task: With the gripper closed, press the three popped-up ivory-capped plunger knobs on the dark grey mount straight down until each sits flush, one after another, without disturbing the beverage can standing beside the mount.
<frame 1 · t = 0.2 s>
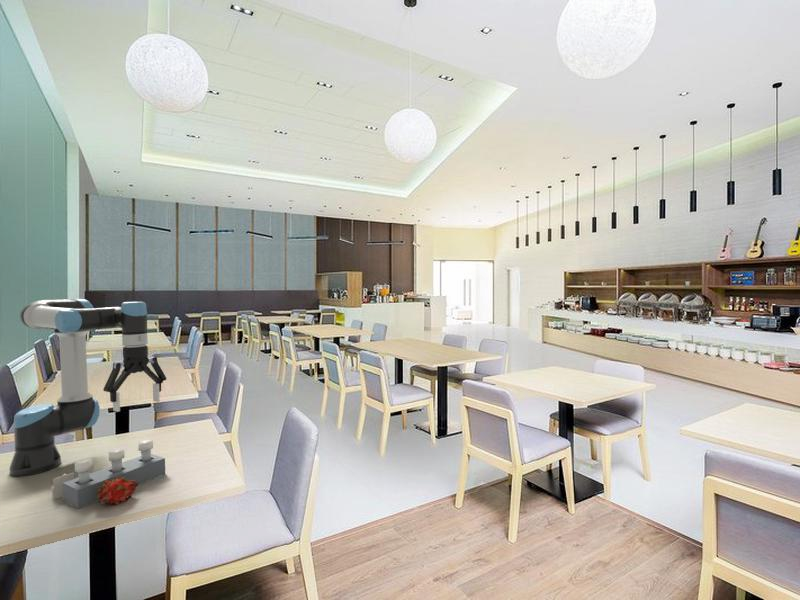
hand: (137, 406, 150), 27 cm above the table, fingers open, 13 cm apart
knob far: (146, 452, 157), point 8 cm above the table, slide at 0.0 cm
knob mid: (116, 462, 148), point 8 cm above the table, slide at 0.0 cm
mount: (117, 486, 149), on the table
knob near: (83, 473, 140), point 8 cm above the table, slide at 0.0 cm
dragon fruit: (118, 501, 139), on the table
architectural model: (63, 497, 143), on the table
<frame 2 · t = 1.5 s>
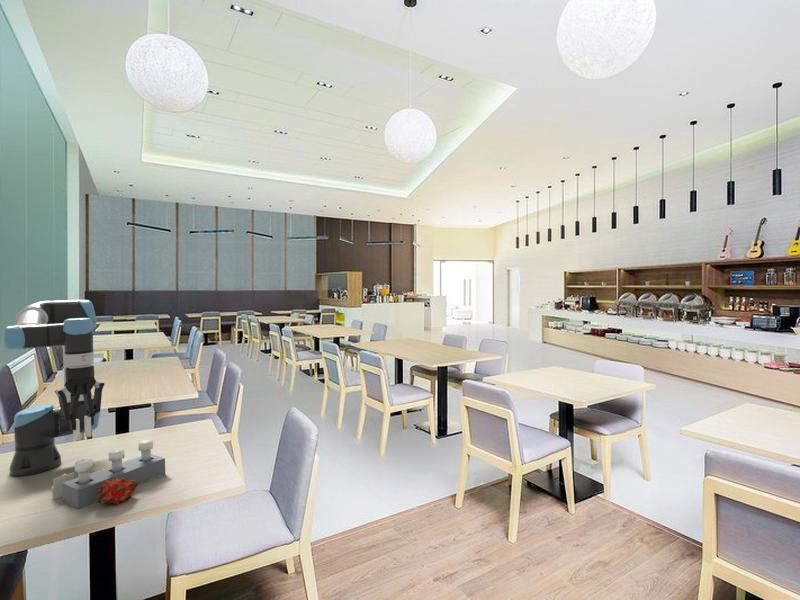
hand: (82, 437, 139), 21 cm above the table, fingers open, 3 cm apart
nothing on the table moved.
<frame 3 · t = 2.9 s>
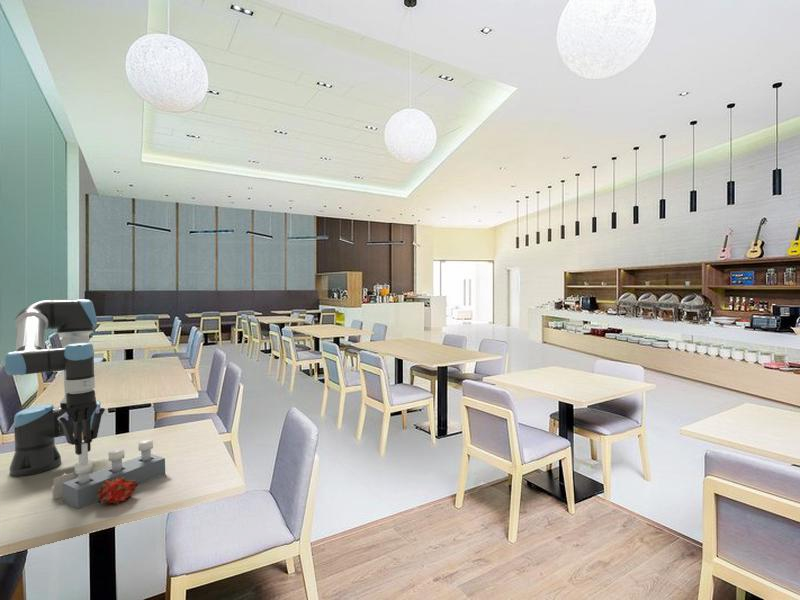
hand: (83, 462, 139), 12 cm above the table, fingers closed
knob near: (83, 475, 140), point 8 cm above the table, slide at 0.6 cm, touching gripper
everything else where it was.
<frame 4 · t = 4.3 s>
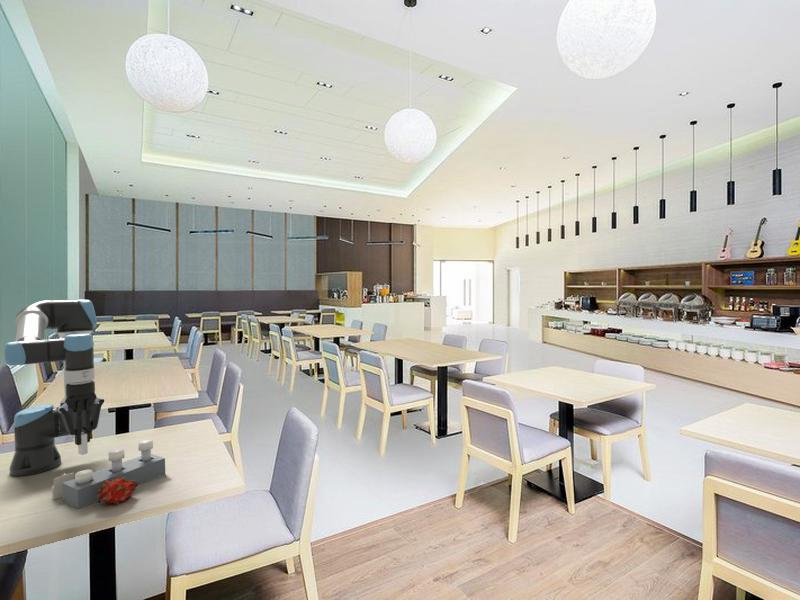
hand: (83, 453, 140), 15 cm above the table, fingers closed
knob near: (84, 484, 140), point 5 cm above the table, slide at 3.6 cm
everything else where it was.
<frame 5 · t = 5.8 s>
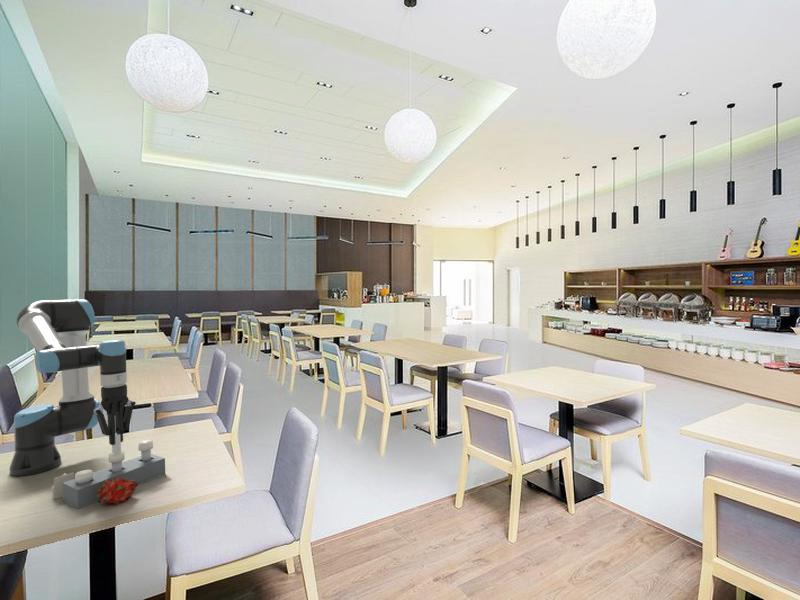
hand: (116, 452, 148), 12 cm above the table, fingers closed
knob mid: (116, 464, 148), point 8 cm above the table, slide at 0.8 cm, touching gripper
everything else where it was.
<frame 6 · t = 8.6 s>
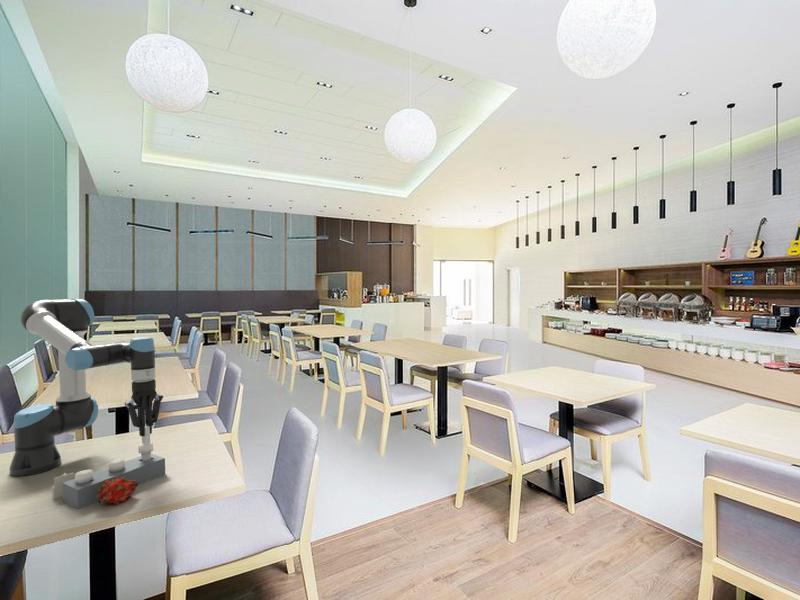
hand: (146, 443, 157), 12 cm above the table, fingers closed
knob far: (146, 455, 157), point 8 cm above the table, slide at 0.9 cm, touching gripper
knob mid: (117, 472, 148), point 5 cm above the table, slide at 3.6 cm
everything else where it was.
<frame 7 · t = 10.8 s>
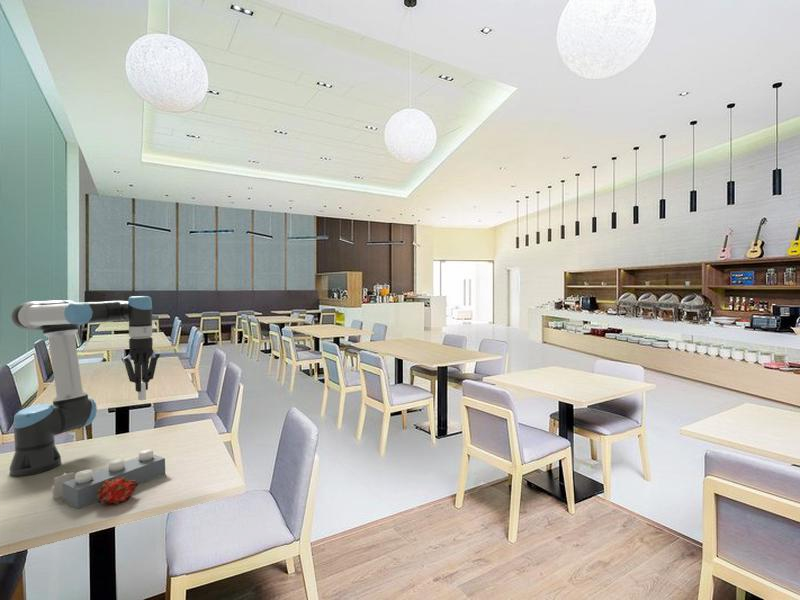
hand: (141, 399, 161), 27 cm above the table, fingers closed
knob far: (146, 462, 157), point 5 cm above the table, slide at 3.6 cm
everything else where it was.
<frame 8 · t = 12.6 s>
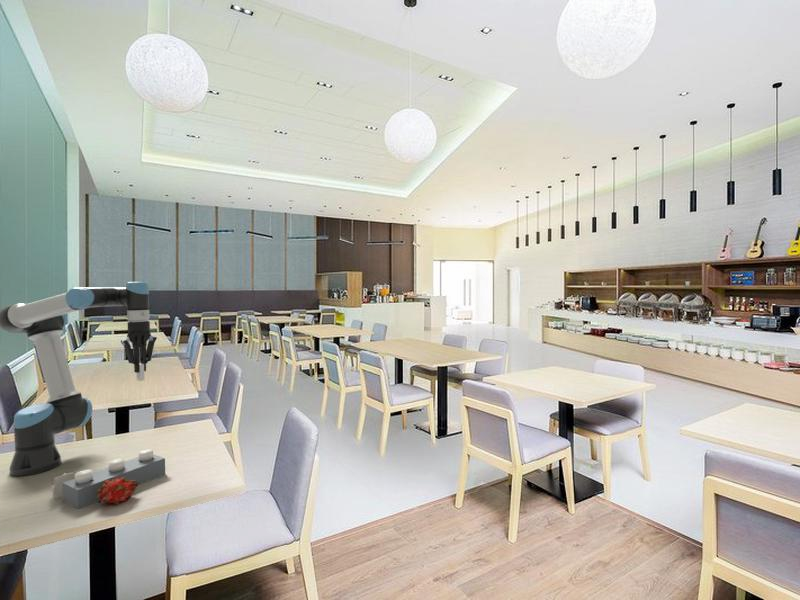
hand: (140, 380, 170), 32 cm above the table, fingers closed
nothing on the table moved.
at the end: knob near slide at 3.6 cm; knob mid slide at 3.6 cm; knob far slide at 3.6 cm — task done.
